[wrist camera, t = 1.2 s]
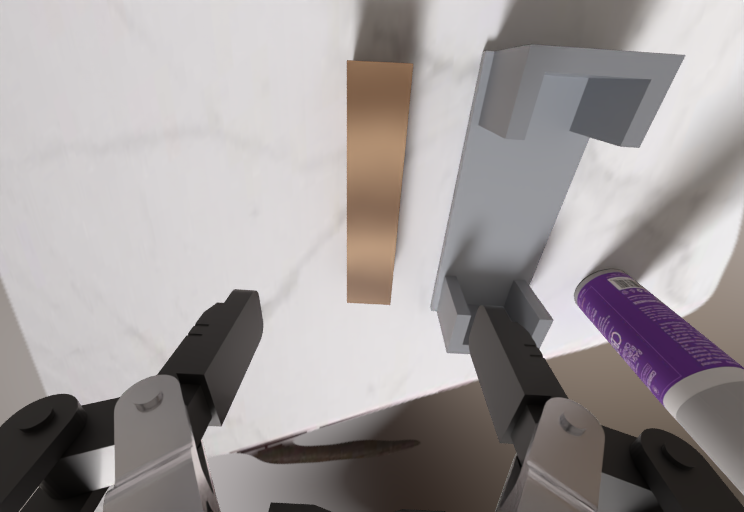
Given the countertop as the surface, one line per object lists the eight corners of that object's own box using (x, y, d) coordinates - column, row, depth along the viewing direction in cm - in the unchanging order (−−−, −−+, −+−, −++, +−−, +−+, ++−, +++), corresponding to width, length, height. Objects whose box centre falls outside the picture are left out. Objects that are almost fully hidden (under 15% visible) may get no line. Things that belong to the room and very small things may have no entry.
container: (564, 290, 27) (729, 483, 14) (616, 258, 25) (857, 447, 13) (588, 317, 29) (756, 513, 16) (639, 290, 27) (874, 485, 14)
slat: (353, 62, 19) (346, 60, 15) (407, 65, 19) (413, 63, 15) (351, 273, 27) (347, 302, 24) (389, 275, 27) (390, 304, 24)
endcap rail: (483, 51, 18) (519, 43, 13) (614, 60, 18) (696, 55, 14) (430, 306, 28) (440, 352, 24) (514, 311, 29) (541, 357, 24)
